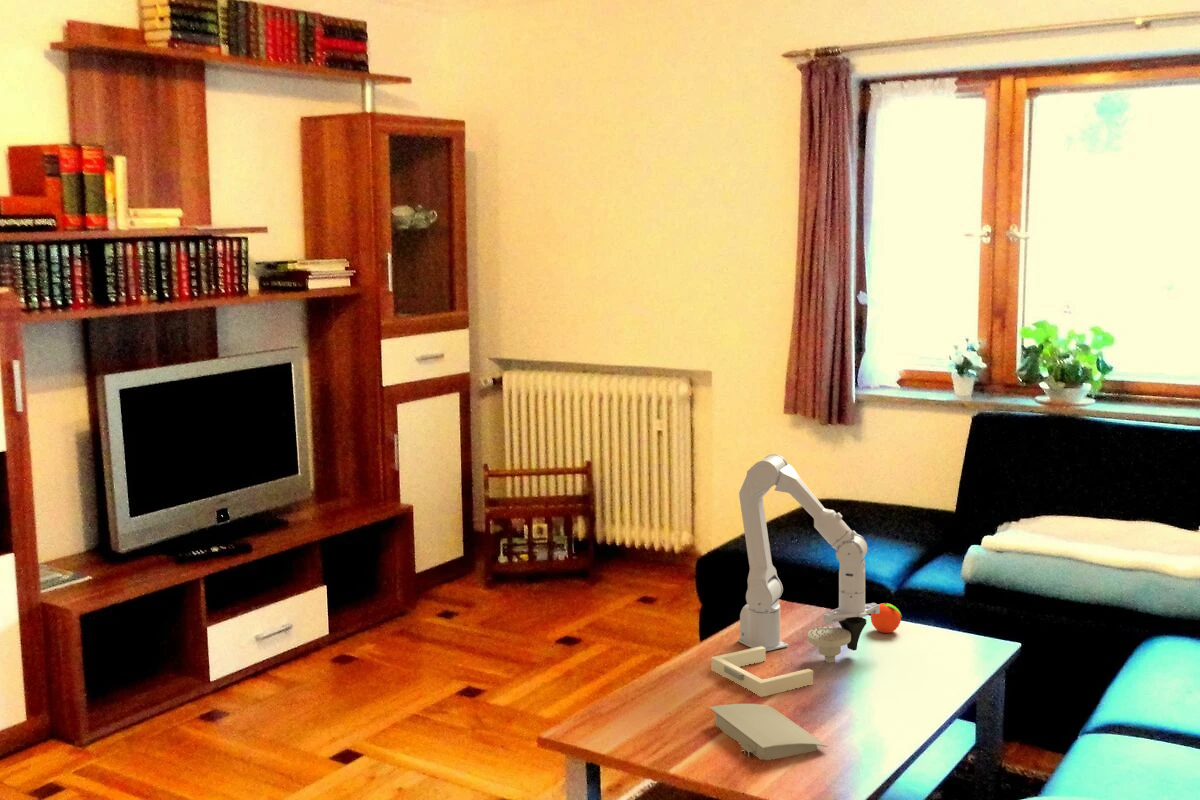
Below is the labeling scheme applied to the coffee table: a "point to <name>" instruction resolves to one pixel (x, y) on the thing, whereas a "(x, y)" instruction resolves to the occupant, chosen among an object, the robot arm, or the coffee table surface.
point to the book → (764, 731)
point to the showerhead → (829, 640)
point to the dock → (730, 669)
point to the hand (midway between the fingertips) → (851, 649)
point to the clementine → (886, 618)
